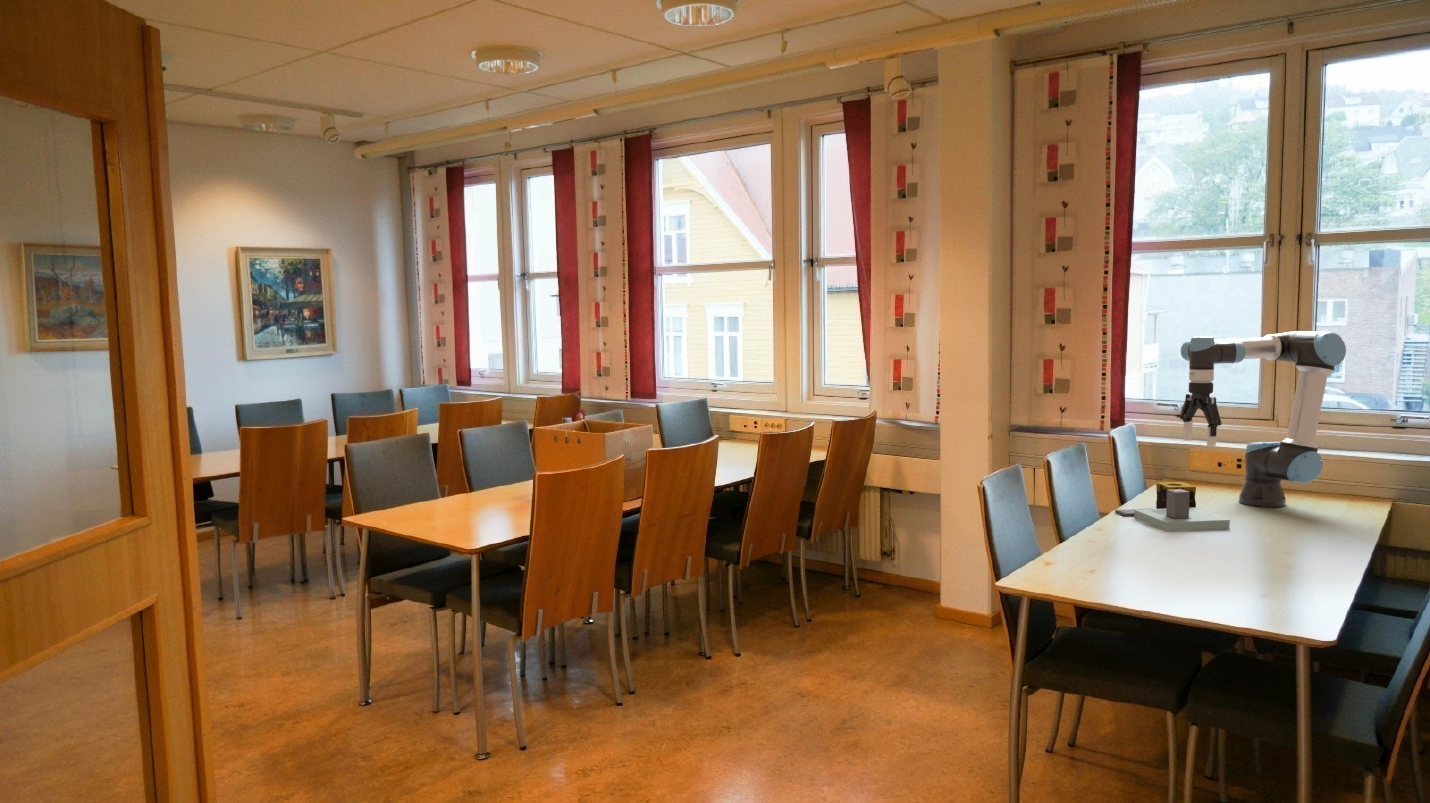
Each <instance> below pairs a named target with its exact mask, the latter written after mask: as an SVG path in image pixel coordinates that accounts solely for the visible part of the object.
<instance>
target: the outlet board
mask: <svg viewBox="0 0 1430 803" xmlns="http://www.w3.org/2000/svg"><path fill="white" fill-rule="evenodd" d="M1143 509H1144V510H1135V516H1134V519H1136V520H1137V521H1139V522H1142V523H1144V524H1145V523H1146V524H1147V525H1150V526H1153V527H1154V528H1157V529H1159V530H1162V531H1164V532H1186V531H1206V530H1209V531H1210V530H1227V529H1228V530H1230V528H1231V526H1230V525H1231V519H1229V518H1225V517H1224V516H1220V515H1217V514H1215V513H1211V512H1208V511H1206V510H1202V509H1200V508H1198V507H1196V508H1194V507H1193V508H1189V519H1172V518H1169V517H1166V509H1157V508H1143Z"/></svg>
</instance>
